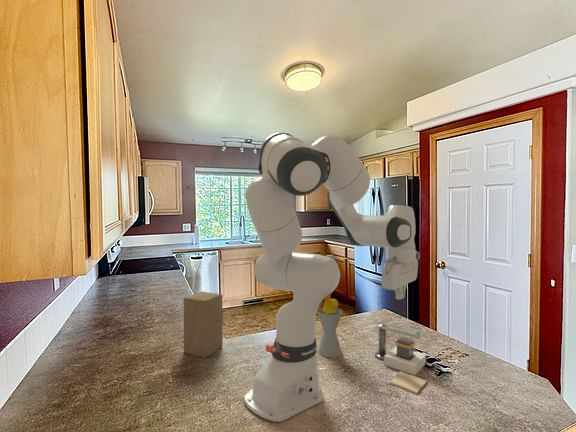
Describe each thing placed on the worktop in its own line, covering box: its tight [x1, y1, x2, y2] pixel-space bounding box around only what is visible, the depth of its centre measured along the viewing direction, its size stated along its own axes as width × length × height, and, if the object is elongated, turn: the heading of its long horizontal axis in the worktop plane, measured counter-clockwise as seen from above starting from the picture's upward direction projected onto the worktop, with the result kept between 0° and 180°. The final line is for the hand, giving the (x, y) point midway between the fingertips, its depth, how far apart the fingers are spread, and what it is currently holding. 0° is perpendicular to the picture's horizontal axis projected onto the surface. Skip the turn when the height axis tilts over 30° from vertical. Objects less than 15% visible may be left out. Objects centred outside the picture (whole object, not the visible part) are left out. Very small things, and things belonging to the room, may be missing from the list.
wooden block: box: [183, 291, 223, 359], centre depth 113 cm, size 10×10×20 cm
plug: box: [394, 336, 416, 360], centre depth 103 cm, size 5×5×8 cm
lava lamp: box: [317, 254, 343, 358], centre depth 112 cm, size 9×9×35 cm
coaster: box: [389, 370, 428, 395], centre depth 92 cm, size 8×8×1 cm
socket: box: [383, 345, 427, 376], centre depth 103 cm, size 10×10×3 cm
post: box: [374, 329, 388, 361], centre depth 108 cm, size 5×5×10 cm
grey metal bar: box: [377, 323, 423, 340], centre depth 104 cm, size 15×3×2 cm, turn 48°
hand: (400, 298), depth 99 cm, fingers closed
